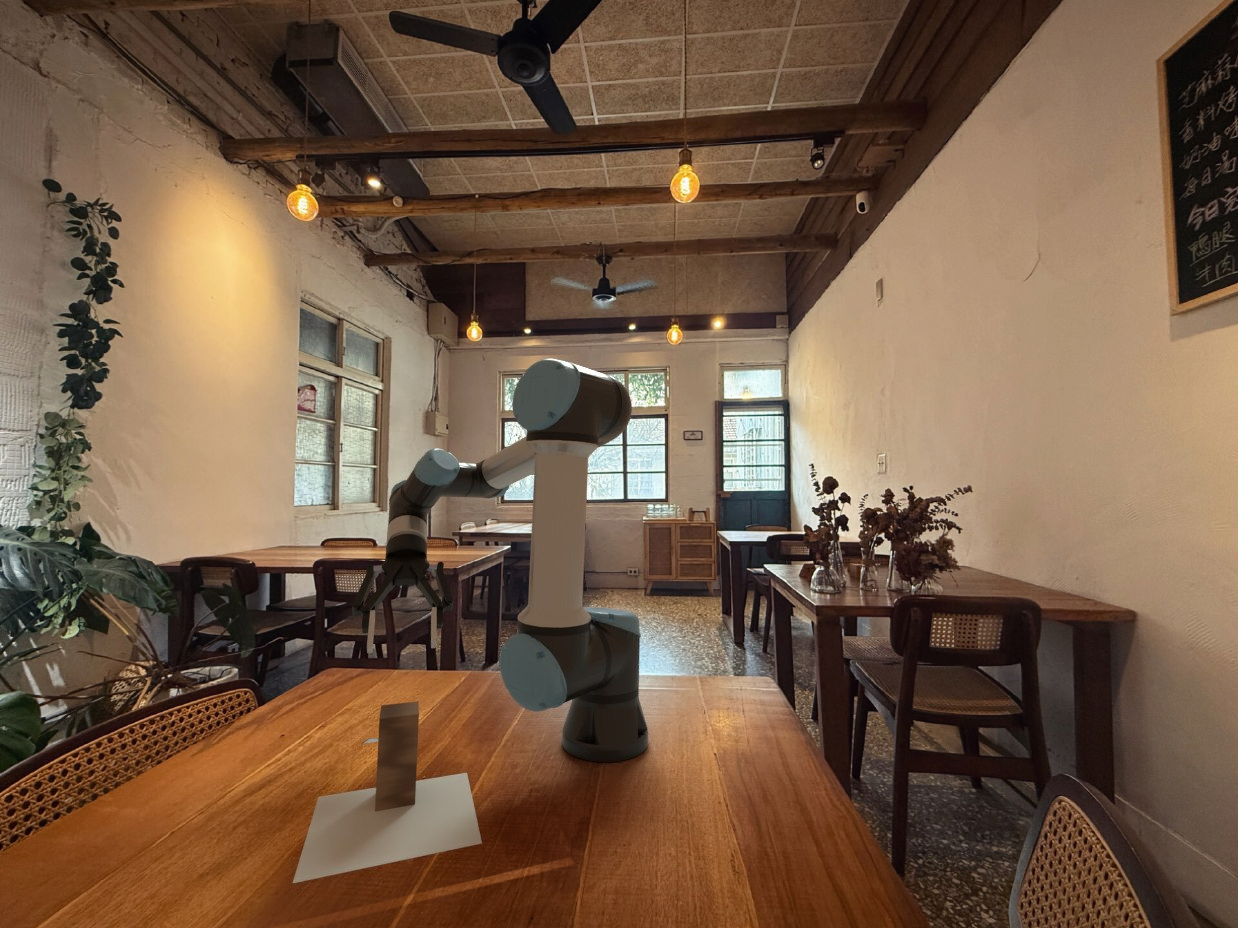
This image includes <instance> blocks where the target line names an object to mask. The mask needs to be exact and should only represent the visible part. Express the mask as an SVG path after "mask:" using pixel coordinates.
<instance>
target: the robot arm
mask: <svg viewBox="0 0 1238 928" xmlns="http://www.w3.org/2000/svg"><path fill="white" fill-rule="evenodd" d="M511 404H512V406H511V407H512V414H513V417H514V418H515V419H516V422H517V424H518V425H519V426H521V427H522V429H524V430H526V435H525V436H524V437H523V438H521V439H519V440H516V441H515V442H514V443H511V444H510V445H508V446H506V447H504V448H503V449H501V450H499V451H498V452H496V453H494V454H492V455H490V456H489V457H486V458H485V459H483V460H481V461H479V462H476V463H475V462H463V461H462V462H461V461H459V460H458V458H456V456H455V455H454V454H452V453H451V452H449V451H445V449H443V448H438V447H437V448H431V449H429V450H427V451H426V452H425V453H424V455H422V457H421V458H419V460H418V461H417V462H416V464H415V466H414V467H413V469H412V471H411V473H410V474H409V476H408V477H407V479H404V480H401V481H400V482H398V483H397V482H396V483H395V484H394V485H393V487H392V489H391V491H390V495H389V498H388V501H389V502H388V521H387V522H388V523H387V531H386V546H385V558H384V559H385V560H384V561H383V563H382V564H380V565H379V564H378V565H374V564H373V563H371V562H369V563H367V564H366V565H365V566H366V573H365V576H364V577H363V580H362V582H361V585H360V587H359V590H358V591H357V594H356V595H355V598H354V600H353V602H352V605H351V610H352V615H353V616H354V617H358V616H360V617H361V619H362V620H361V634H367V641H366V653H367V654H372V653H373V648H374V647H373V646H374V635H375V627H376V626H375V625H376V610H377V609H378V608H379V606H380V605H381V604H382V603H383V601H384V599H385V598H386V597H387V595H388V594H389V593H390V592H391V591H393V589H394V588H395V587H403V586H414V585H415V587H416V588H417V590H419V592H421V594H422V596H424V598H425V600H426V601H427V603H428V604H429V606H430V608H431V615H430V616H431V617H430V619H431V621H430V623H431V624H430V638H431V639H430V648H431V649H435V648H436V647H437V640H438V639H437V638H438V637H437V635H438V634H437V630H439V629H443V626H444V612H450V611H452V610H453V605H454V598H453V595H452V592H451V590H450V588H449V584H448V582H447V579H446V575H445V572H444V566H445V563H444V562H443V561H438V562H437V564H431V563H430V562H429V561H428V545H427V543H428V514H429V513H430V511H431V509H433V507H434V506H436V504H437V502H438V501H439V500H440V498H442V497H446V498H449V497H450V498H451V497H452V498H475V499H476V498H479V499H480V498H481V499H482V498H483V499H487V500H488V499H494V498H500V497H503V496H504V495H505V494H506V492H507V491H508V490H509V488H510V486H511V485H513V484H515V483H517V482H519V481H521V480H523V479H525V478H527V477H529V476H531V475H533V474H534V475H533V493H532V515H531V516H532V517H531V535H530V536H531V539H530V556H529V559H530V560H529V580H528V581H529V582H528V583H529V584H528V602H527V605H526V607H525V608H524V609H523V610H522V611H521V612H519V614H517V626H516V628H517V629H516V633H515V634H513V635H511V636H510V637H508V639H506V641H505V643H504V644H503V645H502V647H501V650H500V655H499V670H500V675H501V679H502V682H503V684H504V686H505V689H506V690H507V691H508V693H509V694H510V697H511V698H512V700H513V701H514V702H515V703H516V704H518V706H520V707H522V708H524V709H525V710H527V711H530V712H536V713H537V712H543V711H547V710H549V709H556V708H560V707H561V706H563V704H565V703H568V702H571V703H570V705H569V709H568V712H567V715H566V717H565V721H564V723H563V727H562V731H561V733H562V735H561V737H562V738H561V744H562V747H563V749H564V751H566V752H567V753H568V754H570V755H571V756H573V757H576V758H577V759H581V760H584V761H589V762H597V763H614V762H622V761H627V760H630V759H633V758H635V757H638V756H640V755H641V754H642V753H644V752H645V751H646V749H647V748H648V746H649V728H648V725H647V722H646V718H645V714H644V711H643V707H642V705H641V701H640V693H639V692H640V690H639V689H640V645H641V644H640V642H641V638H642V637H641V635H642V634H641V630H640V619H639V617H638V616H637V615H636V613H634V612H631V611H626V610H625V609H624V610H623V609H618V608H617V609H616V608H609V607H608V608H607V607H598V606H597V607H596V606H583V598H584V597H583V595H584V593H583V592H584V572H585V571H584V568H585V567H584V565H585V545H586V544H585V543H586V524H587V523H586V521H587V519H586V518H587V499H588V475H589V473H588V472H589V470H588V469H589V458H590V456H591V455H592V454H593V453H595V451H596V450H597V449H598V448H600V447H602V446H604V445H607V444H608V443H610V442H612V441H614V440H616V439H617V438H618V437H619V436H620V435H621V434H623V432H624V431H625V430H626V428H627V427H628V425H629V423H630V421H631V418H632V412H633V405H632V400H631V395H630V394H629V392H628V390H627V389H626V387H625V385H624V384H623V383H622V382H621V381H620V380H618V378H615V377H613V376H612V375H609V374H606V373H603V372H599V371H597V370H592V369H590V368H587V367H584V366H581V365H579V364H575V363H574V362H573V361H572V362H571V361H569V360H561V359H556V358H543V359H540V360H537V361H536V362H534V363H533V364H532V365H530V366H529V367H528V368H527V369H526V371H525V372H524V374H522V375H521V376H520V378H519V380H518V382H517V384H516V386H515V389H514V391H513V396H512V403H511ZM428 572H431V575H432V576H433V577H434V578H435V583H436V585H437V588H438V590H439V591H438V592H439V594H440V596H441V598H440V597H439V596H438V594H437V593H436V591H435V590H434V588H433V587H432V585H431V584H430V582H429V581H428V579H427V577H426V575H427V574H428ZM381 573H382V574H383V575H384V580H383V581H382V583H381V584H380V585H379V586H378V588H377V589H376V590H375V591H374V593H372V595H371V597H370V598H369V599H368V595H369V593H370V591H371V589H372V587H373V585H374V580H376V579H377V577H379V574H381ZM367 599H368V601H367ZM366 601H367V602H366ZM436 649H437V648H436ZM644 750H645V751H644Z"/></svg>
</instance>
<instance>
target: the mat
mask: <svg viewBox="0 0 1238 928" xmlns="http://www.w3.org/2000/svg"><path fill="white" fill-rule="evenodd" d="M472 795H473V794H472V791H471V786H470V781H469V776H468V772H463V773H458V774H451V775H445V776H444V775H443V776H438V777H432V778H425V779H420V780H416V793H415V805H410V806H404V807H398V808H393V809H387V810H382V811H376V812H375V799H376V787H370V788H365V789H364V788H363V789H359V790H352V791H345V792H339V793H334V794H328V795H323V796H318V797H317V800H316V805H315V807H314V811H313V814H312V817H311V821H310V823H309V824H310V825H309V828H308V831H307V835H306V836H305V837H306V838H305V840H304V843H303V847H302V850H301V855H300V857H299V860H298V864H297V867H296V870H295V874H294V876H293V880H292V884H297V883H298V884H299V883H302V882H307V881H312V880H317V879H321V878H327V877H331V876H336V875H341V874H344V873H349V872H354V871H359V870H364V869H368V868H375V867H378V866H383V865H387V864H391V863H392V864H393V863H396V862H402V861H406V860H410V859H415V858H420V857H424V856H431V855H434V854H435V855H436V854H440V853H445V852H449V851H453V850H458V849H463V848H467V847H471V846H477V845H482V844H483V842H482V837H481V833H480V828H479V822H478V818H477V814H476V809H475V804H474V799H473V796H472Z"/></svg>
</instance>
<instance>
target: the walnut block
mask: <svg viewBox="0 0 1238 928" xmlns="http://www.w3.org/2000/svg"><path fill="white" fill-rule="evenodd" d="M419 709H420V707H419V701H417V700H416V701H410V702H409V701H408V702H401V703H391V704H381V706H380V712H379V720H378V737H377V739H378V742H377V760H376V762H377V763H376V777H375V778H376V783H375V788H376V799H375V812H376V811H382V810H387V809H393V808H398V807H404V806H410V805H415V793H416V781H417V769H418V768H417V766H418V747H419V746H418V745H419V744H418V742H419V720H420V710H419Z"/></svg>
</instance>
